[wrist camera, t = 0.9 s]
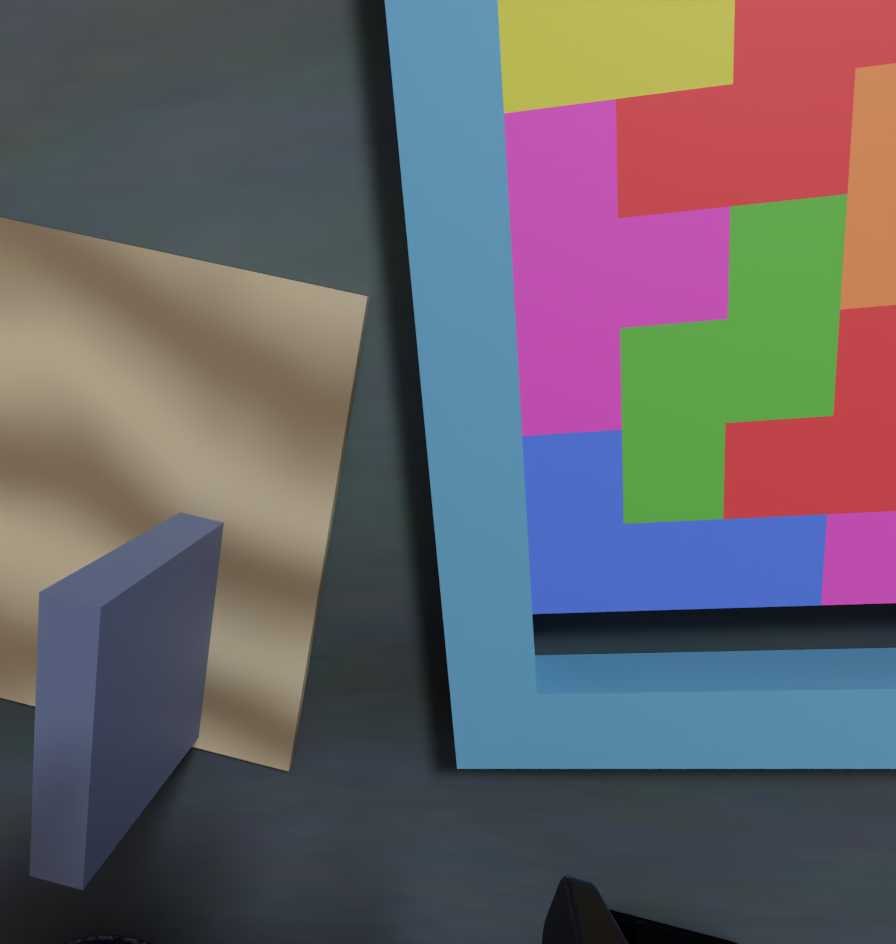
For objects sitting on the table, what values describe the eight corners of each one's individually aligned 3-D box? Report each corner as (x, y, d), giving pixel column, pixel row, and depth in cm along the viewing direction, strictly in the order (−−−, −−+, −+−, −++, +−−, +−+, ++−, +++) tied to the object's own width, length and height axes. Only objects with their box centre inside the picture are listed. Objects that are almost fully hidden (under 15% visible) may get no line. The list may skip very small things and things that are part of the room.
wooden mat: (292, 764, 24) (288, 771, 23) (-87, 667, 24) (-97, 672, 24) (370, 297, 19) (367, 296, 19) (-100, 196, 20) (-112, 193, 19)
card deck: (198, 737, 23) (82, 890, 17) (157, 727, 23) (27, 875, 17) (223, 522, 21) (100, 607, 15) (178, 511, 21) (36, 591, 15)
